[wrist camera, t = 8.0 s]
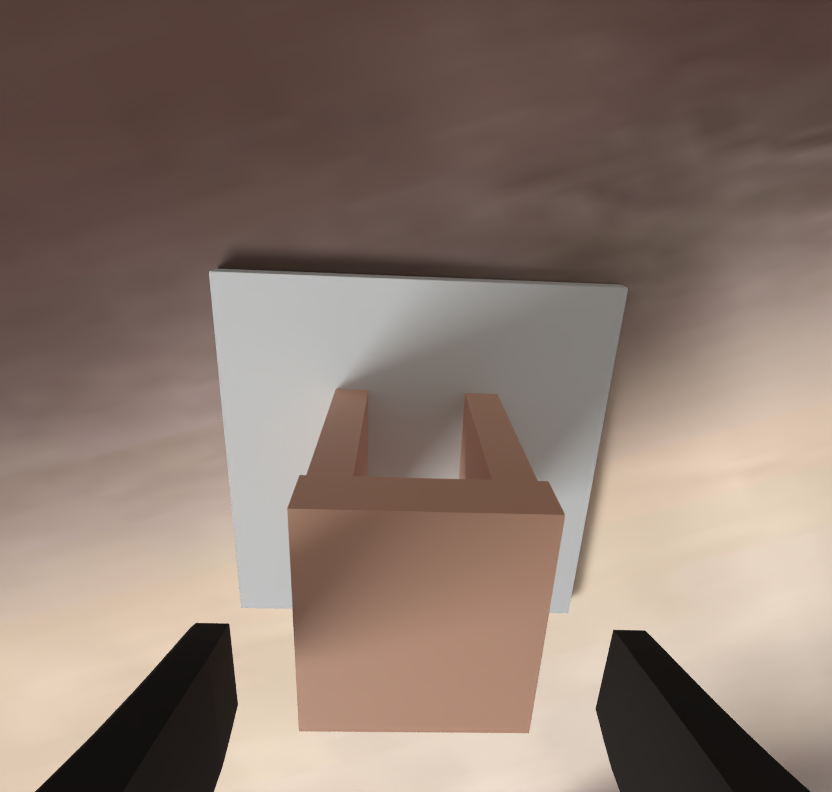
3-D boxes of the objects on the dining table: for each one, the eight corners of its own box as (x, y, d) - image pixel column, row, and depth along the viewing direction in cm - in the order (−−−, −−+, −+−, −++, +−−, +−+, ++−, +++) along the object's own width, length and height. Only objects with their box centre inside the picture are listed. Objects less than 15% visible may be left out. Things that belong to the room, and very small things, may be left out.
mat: (620, 284, 16) (628, 287, 15) (563, 601, 20) (568, 613, 20) (216, 268, 15) (209, 271, 15) (245, 596, 20) (241, 607, 19)
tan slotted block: (482, 534, 18) (528, 733, 12) (337, 531, 18) (299, 730, 11) (498, 382, 16) (565, 514, 10) (335, 376, 16) (287, 508, 9)
